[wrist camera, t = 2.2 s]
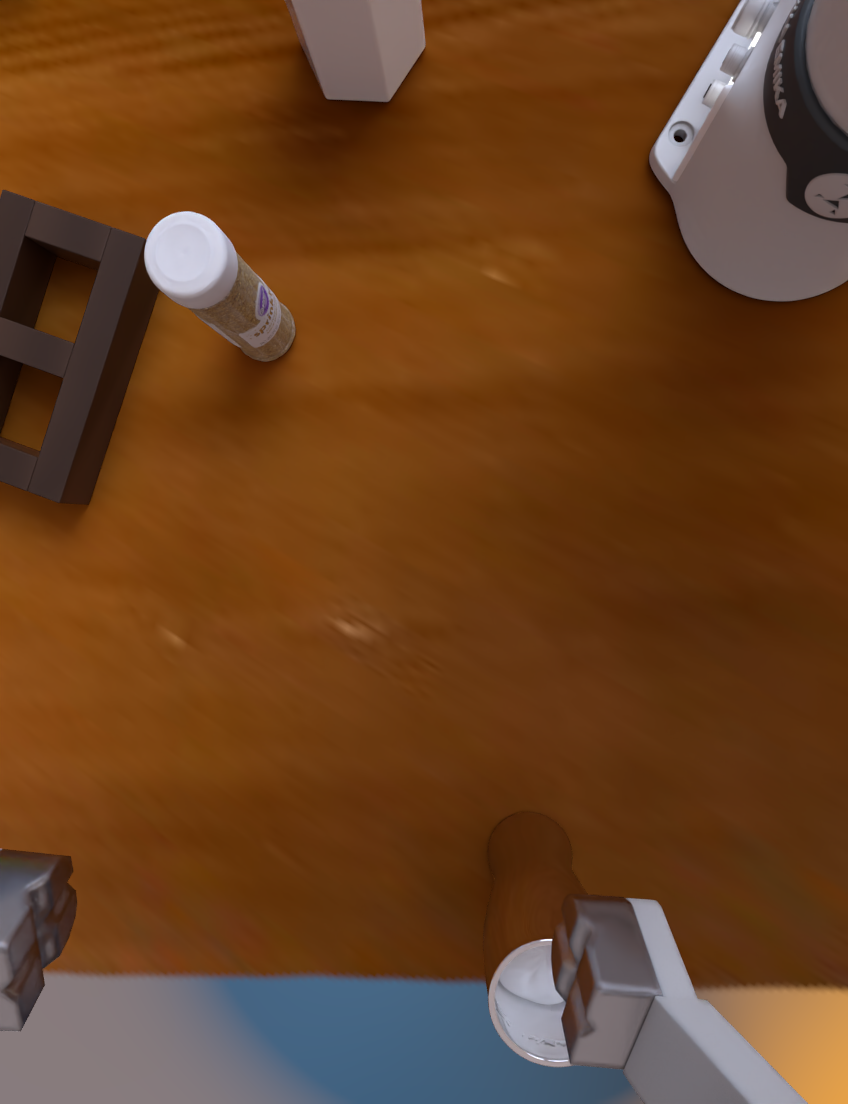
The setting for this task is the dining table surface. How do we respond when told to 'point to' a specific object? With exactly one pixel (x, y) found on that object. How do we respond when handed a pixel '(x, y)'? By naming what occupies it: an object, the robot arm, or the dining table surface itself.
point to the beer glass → (527, 934)
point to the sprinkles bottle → (217, 285)
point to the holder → (88, 365)
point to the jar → (359, 44)
